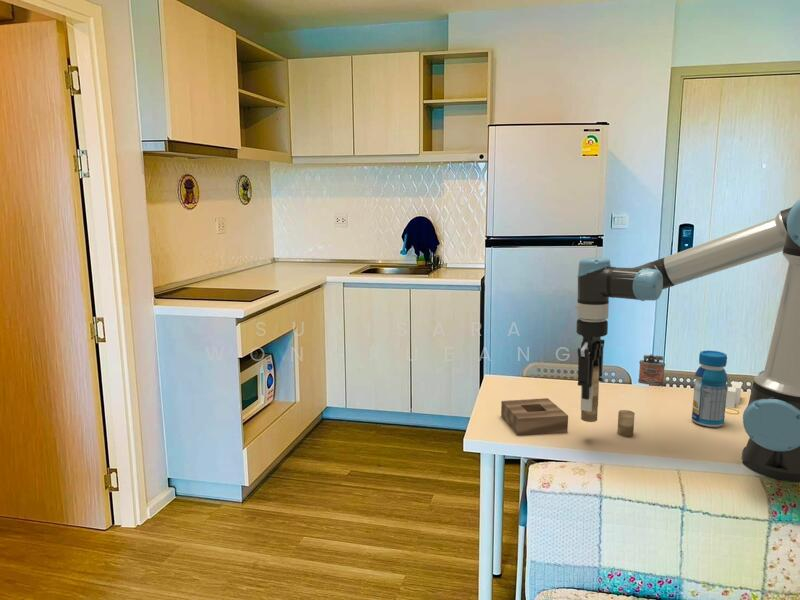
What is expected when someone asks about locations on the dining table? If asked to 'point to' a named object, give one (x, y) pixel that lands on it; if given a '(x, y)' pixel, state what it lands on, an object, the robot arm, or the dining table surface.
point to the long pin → (592, 415)
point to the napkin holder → (733, 395)
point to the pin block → (534, 417)
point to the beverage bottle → (710, 389)
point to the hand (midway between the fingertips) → (589, 407)
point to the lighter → (651, 370)
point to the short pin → (625, 423)
